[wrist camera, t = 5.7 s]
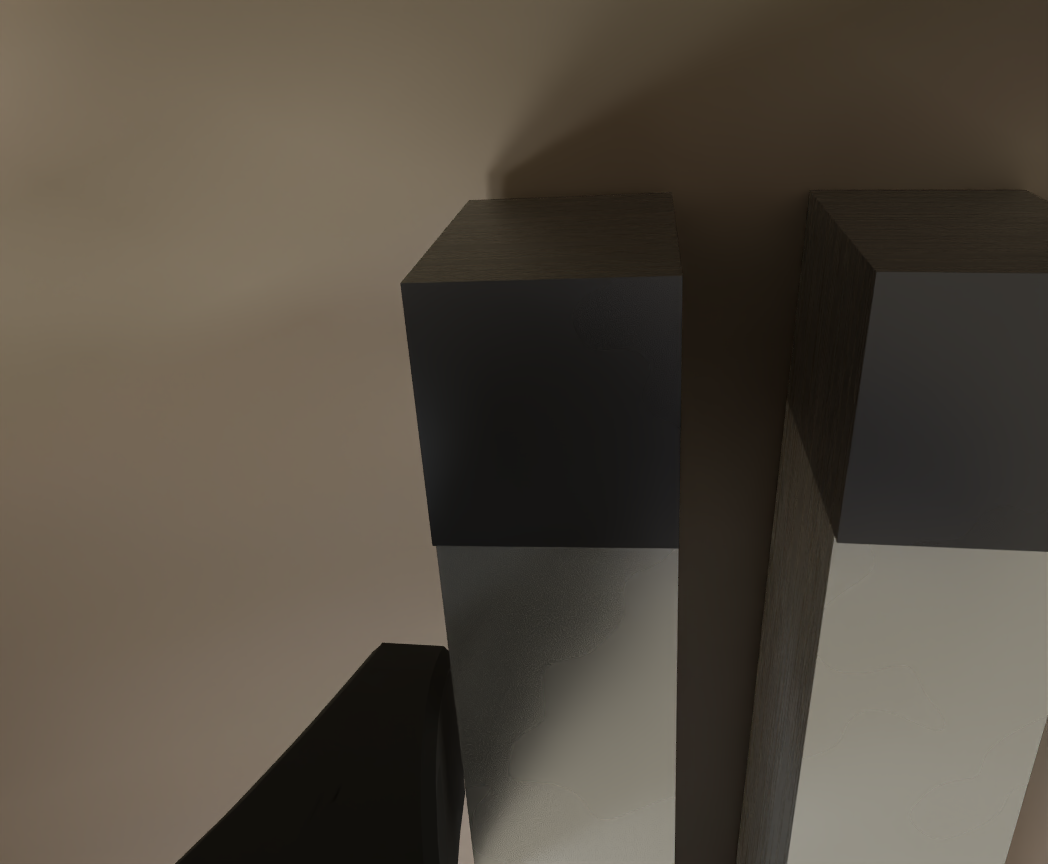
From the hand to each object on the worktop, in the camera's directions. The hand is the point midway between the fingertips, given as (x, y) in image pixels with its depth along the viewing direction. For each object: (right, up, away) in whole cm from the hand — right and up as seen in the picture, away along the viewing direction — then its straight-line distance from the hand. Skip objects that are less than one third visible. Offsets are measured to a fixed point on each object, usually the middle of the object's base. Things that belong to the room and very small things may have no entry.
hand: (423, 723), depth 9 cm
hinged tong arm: (+2, -5, +4) cm, 6 cm away
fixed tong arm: (+5, -5, +4) cm, 8 cm away
